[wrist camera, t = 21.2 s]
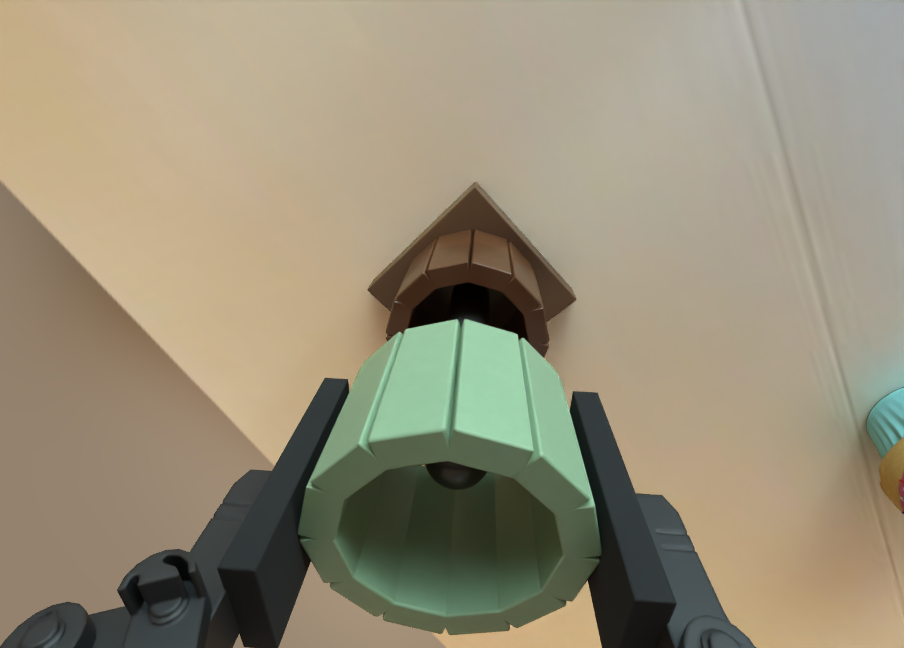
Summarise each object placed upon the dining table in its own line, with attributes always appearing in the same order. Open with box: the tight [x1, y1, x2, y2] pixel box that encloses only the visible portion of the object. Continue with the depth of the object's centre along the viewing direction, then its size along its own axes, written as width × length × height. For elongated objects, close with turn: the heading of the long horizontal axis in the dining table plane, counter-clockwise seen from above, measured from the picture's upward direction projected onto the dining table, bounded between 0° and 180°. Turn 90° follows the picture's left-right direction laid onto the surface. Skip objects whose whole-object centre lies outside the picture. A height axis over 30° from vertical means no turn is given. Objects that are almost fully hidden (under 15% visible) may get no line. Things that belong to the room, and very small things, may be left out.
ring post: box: [368, 182, 576, 490], centre depth 19 cm, size 8×8×14 cm
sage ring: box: [298, 319, 602, 635], centre depth 13 cm, size 7×7×5 cm
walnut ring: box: [386, 229, 549, 358], centre depth 22 cm, size 7×7×5 cm
